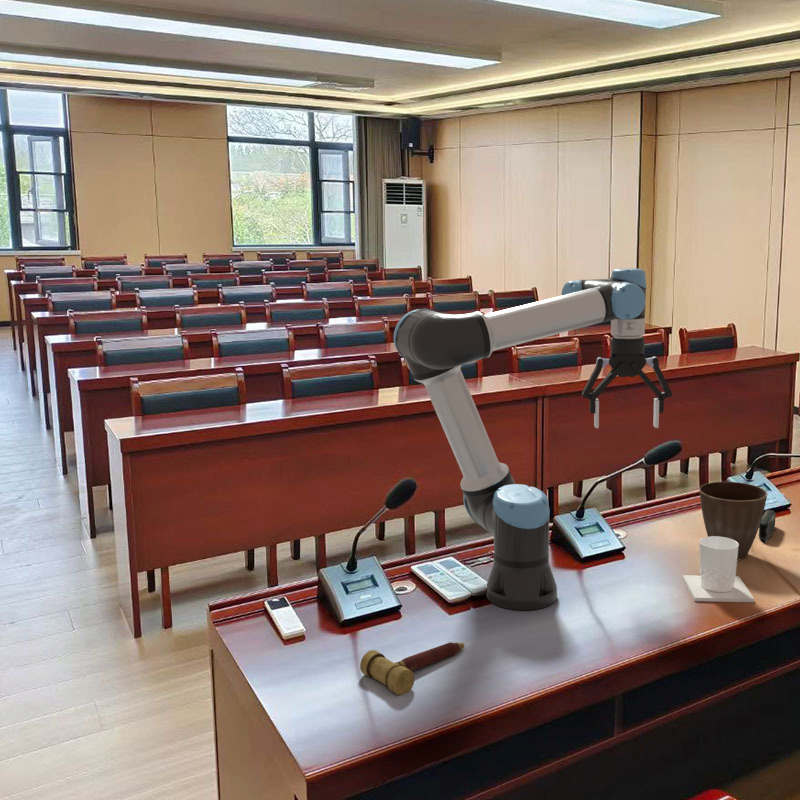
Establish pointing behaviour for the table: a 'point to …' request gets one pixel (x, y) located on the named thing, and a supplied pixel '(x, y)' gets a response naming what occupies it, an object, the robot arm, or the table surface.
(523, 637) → the table surface
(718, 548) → the white cup
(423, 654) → the gavel
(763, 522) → the mobile phone
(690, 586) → the tile
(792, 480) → the table surface
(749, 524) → the plant pot
